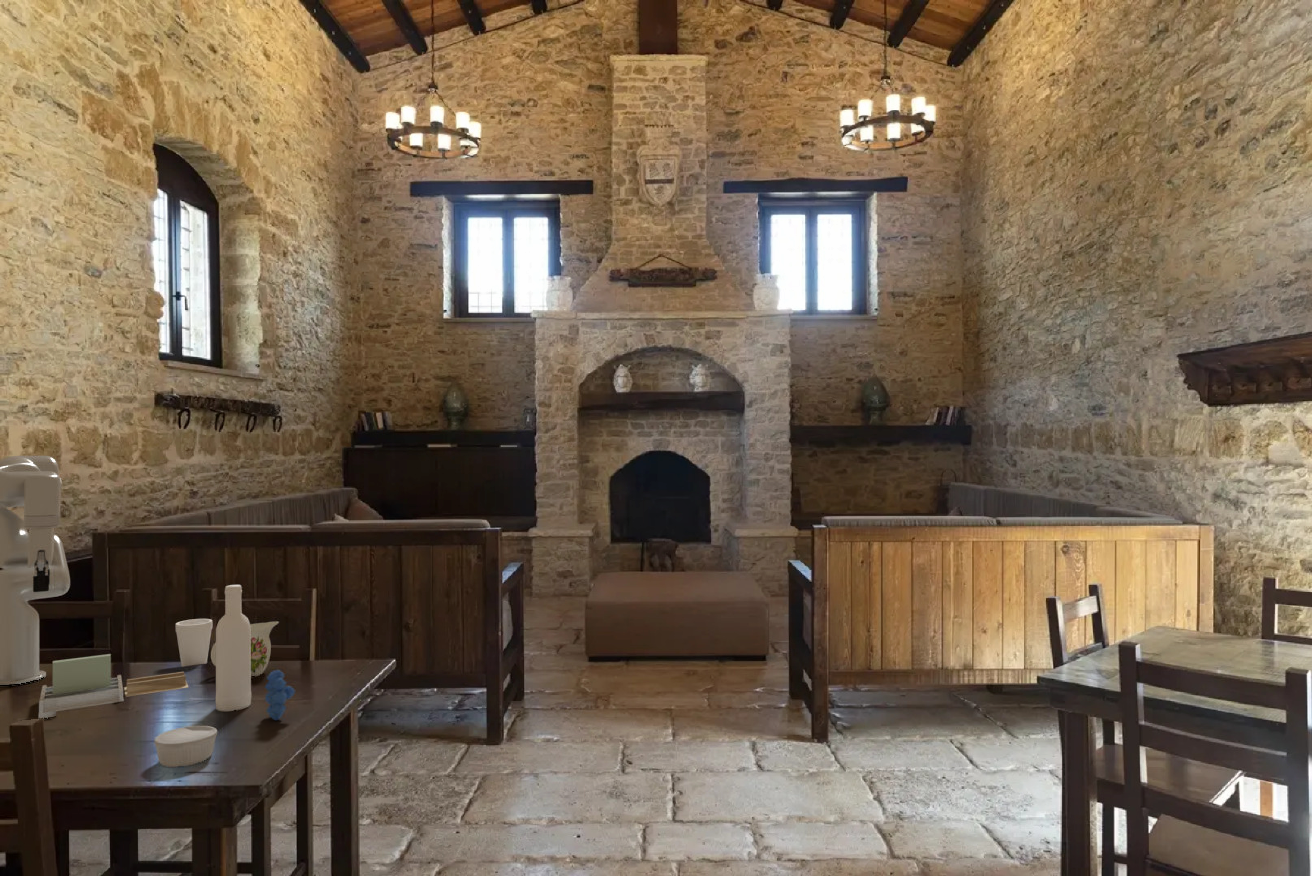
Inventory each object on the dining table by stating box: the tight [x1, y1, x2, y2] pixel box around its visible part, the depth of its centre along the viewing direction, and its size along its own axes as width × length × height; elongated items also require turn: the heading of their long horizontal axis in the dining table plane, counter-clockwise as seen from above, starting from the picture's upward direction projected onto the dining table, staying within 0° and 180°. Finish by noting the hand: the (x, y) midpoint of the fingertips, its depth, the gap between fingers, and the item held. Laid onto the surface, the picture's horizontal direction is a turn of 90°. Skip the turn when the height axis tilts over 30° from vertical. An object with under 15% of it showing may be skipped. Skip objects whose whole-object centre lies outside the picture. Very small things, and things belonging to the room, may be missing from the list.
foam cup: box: [175, 618, 213, 668], centre depth 244 cm, size 10×9×13 cm
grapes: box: [264, 669, 296, 721], centre depth 196 cm, size 12×7×12 cm, turn 36°
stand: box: [123, 671, 189, 698], centre depth 217 cm, size 10×14×4 cm
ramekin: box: [153, 725, 218, 768], centre depth 171 cm, size 11×11×5 cm
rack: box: [38, 674, 125, 720], centre depth 208 cm, size 18×17×4 cm
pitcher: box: [210, 621, 280, 677], centre depth 234 cm, size 11×18×14 cm, turn 134°
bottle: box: [215, 584, 252, 712], centre depth 205 cm, size 8×8×30 cm
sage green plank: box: [52, 653, 112, 694], centre depth 208 cm, size 2×12×10 cm, turn 125°
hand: (41, 588), depth 213 cm, fingers open, 9 cm apart
